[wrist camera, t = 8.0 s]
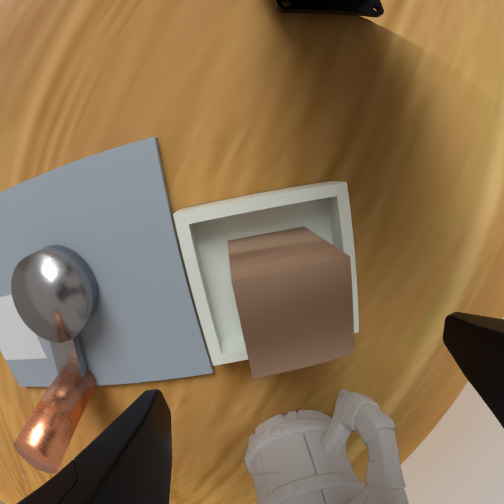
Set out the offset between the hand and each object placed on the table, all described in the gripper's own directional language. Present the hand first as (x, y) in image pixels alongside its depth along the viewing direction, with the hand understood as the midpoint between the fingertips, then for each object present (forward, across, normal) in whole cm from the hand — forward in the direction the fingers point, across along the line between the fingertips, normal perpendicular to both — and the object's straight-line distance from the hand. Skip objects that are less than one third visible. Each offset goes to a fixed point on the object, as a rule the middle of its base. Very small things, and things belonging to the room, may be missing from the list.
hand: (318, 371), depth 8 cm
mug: (+9, -1, +12) cm, 16 cm away
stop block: (+8, 0, 0) cm, 9 cm away
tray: (+9, 0, 0) cm, 9 cm away
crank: (+8, +12, -2) cm, 15 cm away
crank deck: (+9, +12, -2) cm, 15 cm away
